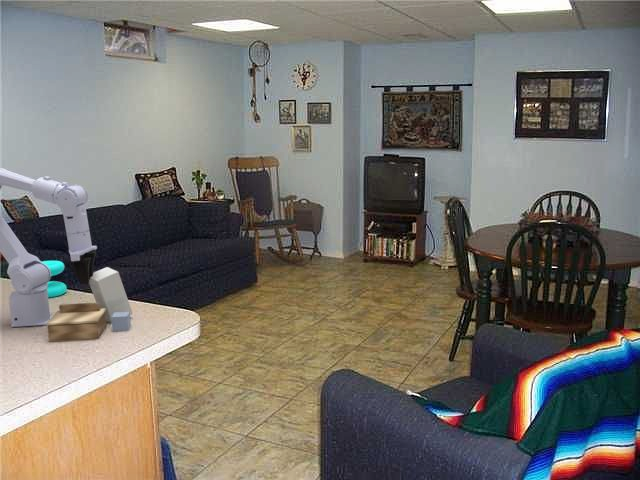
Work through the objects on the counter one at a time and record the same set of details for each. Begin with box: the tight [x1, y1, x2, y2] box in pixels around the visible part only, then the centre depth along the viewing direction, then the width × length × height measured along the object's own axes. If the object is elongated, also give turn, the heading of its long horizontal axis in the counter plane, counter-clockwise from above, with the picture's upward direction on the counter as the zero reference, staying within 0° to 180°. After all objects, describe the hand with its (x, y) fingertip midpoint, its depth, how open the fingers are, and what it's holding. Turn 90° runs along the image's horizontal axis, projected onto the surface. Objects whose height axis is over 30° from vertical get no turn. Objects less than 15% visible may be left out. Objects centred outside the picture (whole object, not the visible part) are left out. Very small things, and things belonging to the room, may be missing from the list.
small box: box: [88, 266, 133, 324], centre depth 183 cm, size 8×6×13 cm
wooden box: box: [47, 312, 107, 342], centre depth 173 cm, size 12×10×4 cm
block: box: [111, 312, 132, 332], centre depth 176 cm, size 4×4×4 cm
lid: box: [45, 302, 106, 326], centre depth 172 cm, size 12×10×2 cm
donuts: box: [41, 260, 67, 299], centre depth 209 cm, size 10×10×10 cm
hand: (86, 281), depth 178 cm, fingers open, 4 cm apart
